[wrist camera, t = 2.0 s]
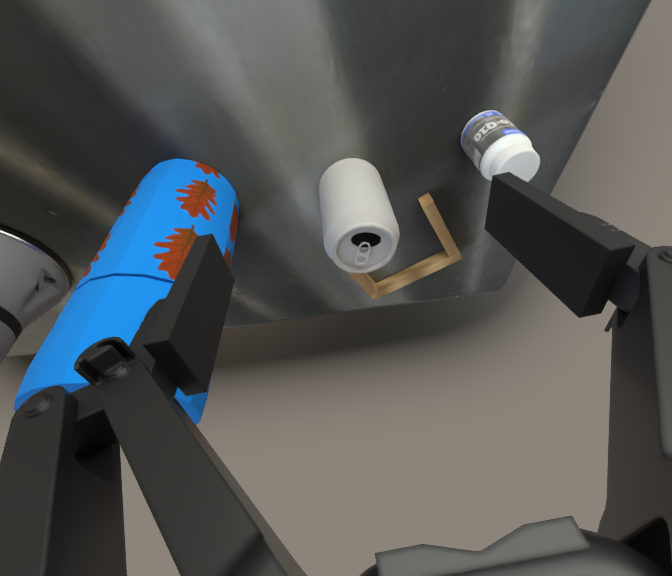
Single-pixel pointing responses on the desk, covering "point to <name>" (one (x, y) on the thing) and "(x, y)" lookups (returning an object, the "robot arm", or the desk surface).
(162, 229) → the thermos
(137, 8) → the desk surface
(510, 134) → the pill bottle
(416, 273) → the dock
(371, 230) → the can
